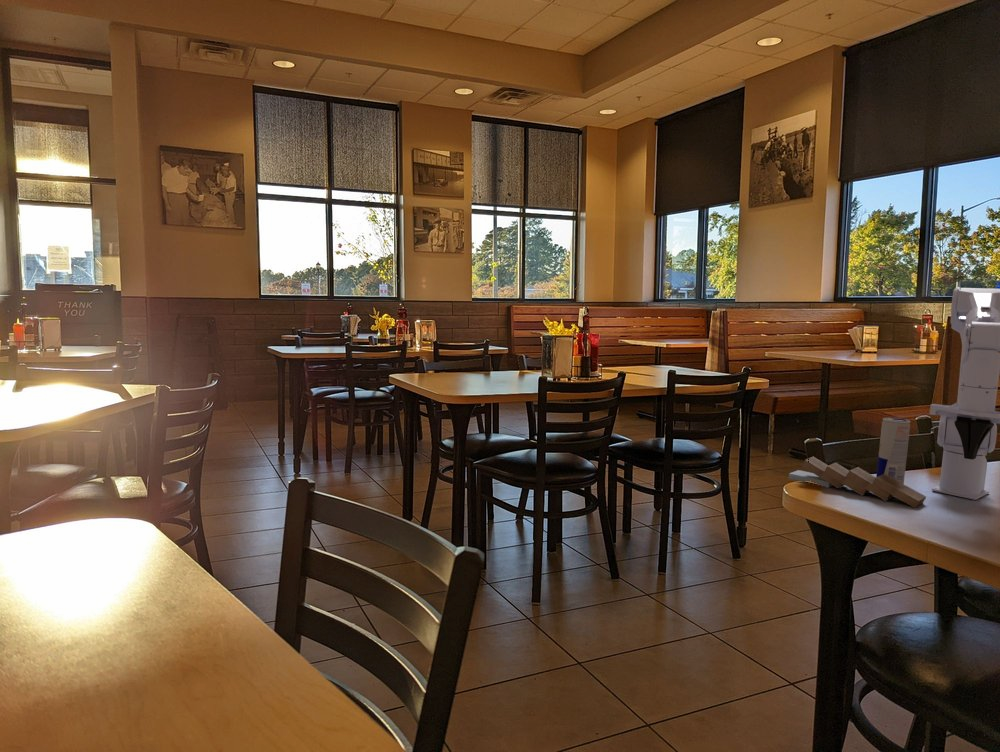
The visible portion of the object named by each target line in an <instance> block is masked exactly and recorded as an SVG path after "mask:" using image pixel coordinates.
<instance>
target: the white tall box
mask: <svg viewBox="0 0 1000 752" xmlns="http://www.w3.org/2000/svg"><path fill="white" fill-rule="evenodd" d="M910 423H911V420H909V419H904V418H899V417H898V418H897V417H883V418H882V421H881V428H880V440H879V447H878V448H879V449H878V457H877V468H876V476H875V477H878V476H880V475H883V474H885V475H887V476H889V477H891V478H893V479H895V480H896V481H898V482H900V483H902V484H904V485H905V477H906V476H905V474H906V466H907V460H908V459H907V458H908V457H907V456H908V450H909V448H908V447H909V440H910V439H909V438H910V430H911V424H910Z"/></svg>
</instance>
